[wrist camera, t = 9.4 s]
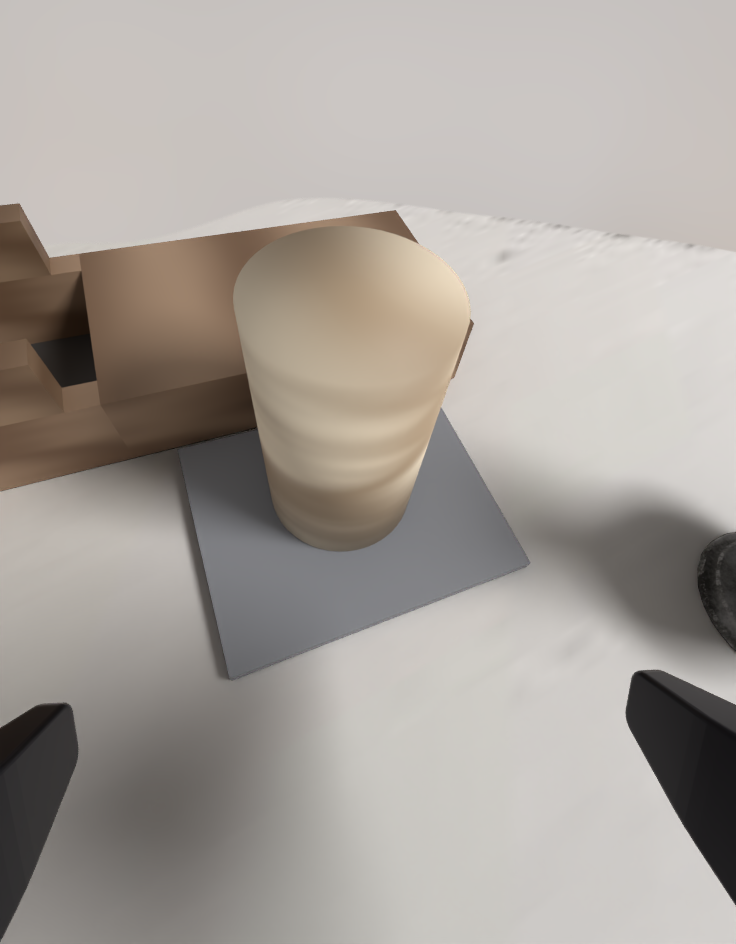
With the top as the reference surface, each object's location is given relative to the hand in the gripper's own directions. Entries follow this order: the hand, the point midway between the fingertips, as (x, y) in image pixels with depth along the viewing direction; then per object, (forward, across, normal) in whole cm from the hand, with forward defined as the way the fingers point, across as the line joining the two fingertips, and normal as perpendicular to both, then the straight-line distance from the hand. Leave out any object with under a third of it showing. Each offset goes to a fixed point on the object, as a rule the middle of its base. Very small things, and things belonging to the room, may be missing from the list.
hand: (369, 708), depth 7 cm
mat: (+9, 0, 0) cm, 9 cm away
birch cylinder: (+9, 0, -1) cm, 9 cm away
